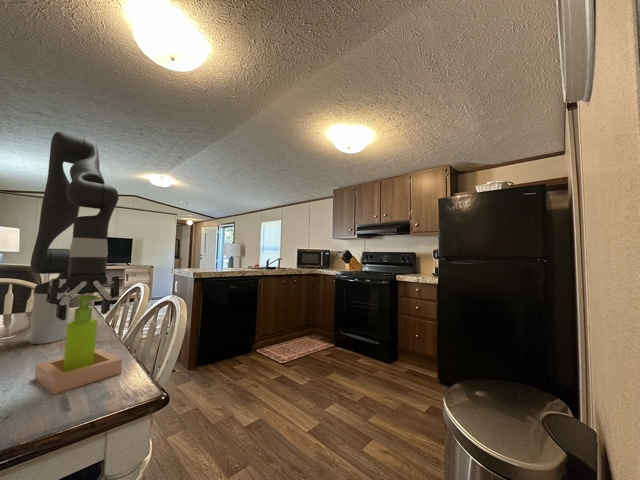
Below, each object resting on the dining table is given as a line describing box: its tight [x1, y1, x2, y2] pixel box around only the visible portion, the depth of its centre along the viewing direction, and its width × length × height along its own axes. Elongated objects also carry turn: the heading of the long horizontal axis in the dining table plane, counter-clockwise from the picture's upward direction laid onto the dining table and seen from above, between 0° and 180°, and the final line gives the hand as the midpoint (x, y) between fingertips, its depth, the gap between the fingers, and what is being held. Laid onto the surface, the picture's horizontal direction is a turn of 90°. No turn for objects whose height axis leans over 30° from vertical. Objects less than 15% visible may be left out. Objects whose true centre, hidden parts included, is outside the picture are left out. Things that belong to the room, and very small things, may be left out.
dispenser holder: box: [34, 348, 123, 395], centre depth 67 cm, size 14×13×4 cm
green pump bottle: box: [63, 294, 101, 372], centre depth 68 cm, size 6×7×20 cm
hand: (84, 316), depth 68 cm, fingers open, 8 cm apart
